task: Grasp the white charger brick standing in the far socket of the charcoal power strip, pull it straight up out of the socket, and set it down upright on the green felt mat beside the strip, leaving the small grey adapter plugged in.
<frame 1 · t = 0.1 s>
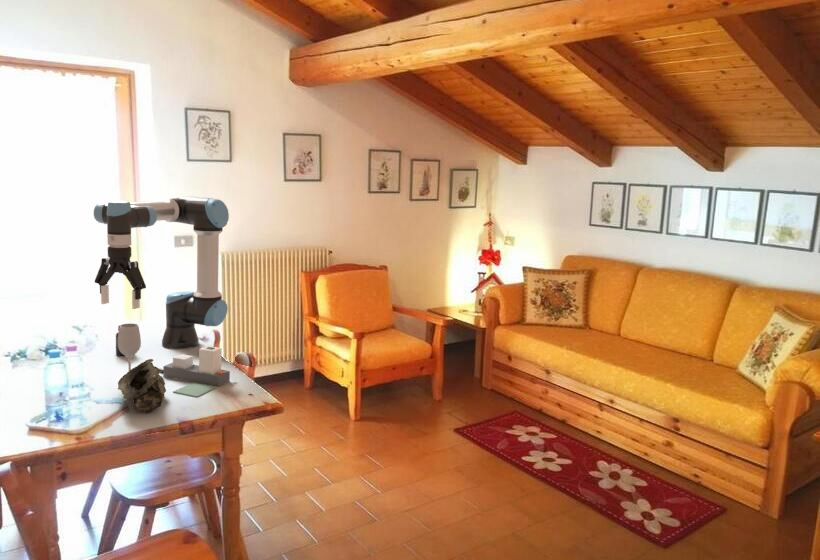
hand: (120, 305, 226), 28 cm above the table, fingers open, 13 cm apart
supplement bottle: (125, 355, 262), on the table
felt mat: (195, 390, 227), on the table
charger: (210, 374, 236), point 3 cm above the table, touching power strip
wineglass: (129, 382, 231), on the table
hollow geode rock: (142, 404, 212), on the table
adapter: (183, 369, 240), point 3 cm above the table, touching power strip
power strip: (196, 378, 238), on the table
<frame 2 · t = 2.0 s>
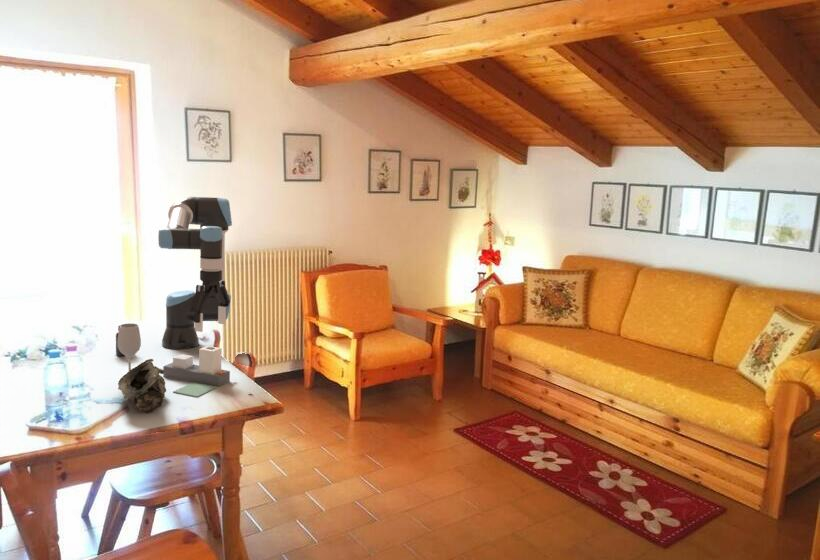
hand: (210, 327, 233), 21 cm above the table, fingers open, 13 cm apart
nothing on the table moved.
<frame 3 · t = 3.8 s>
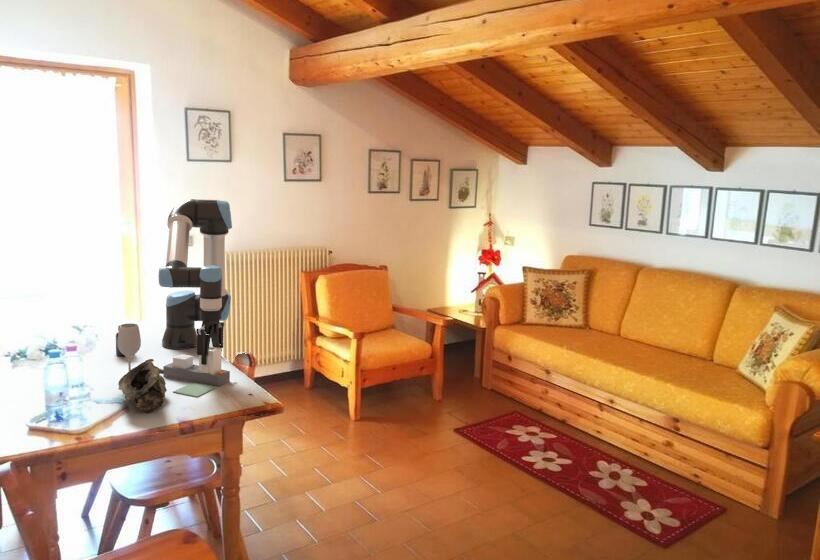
hand: (210, 370, 236), 4 cm above the table, fingers closed on charger, 5 cm apart
charger: (210, 374, 236), point 3 cm above the table, touching gripper
everything else where it was.
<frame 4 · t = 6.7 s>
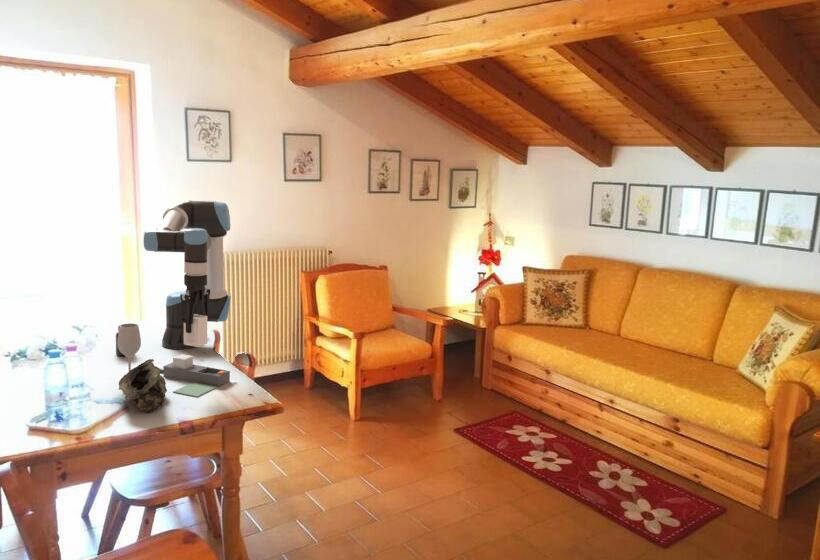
hand: (195, 339, 224), 19 cm above the table, fingers closed on charger, 5 cm apart
charger: (195, 344, 224), point 17 cm above the table, touching gripper
everything else where it was.
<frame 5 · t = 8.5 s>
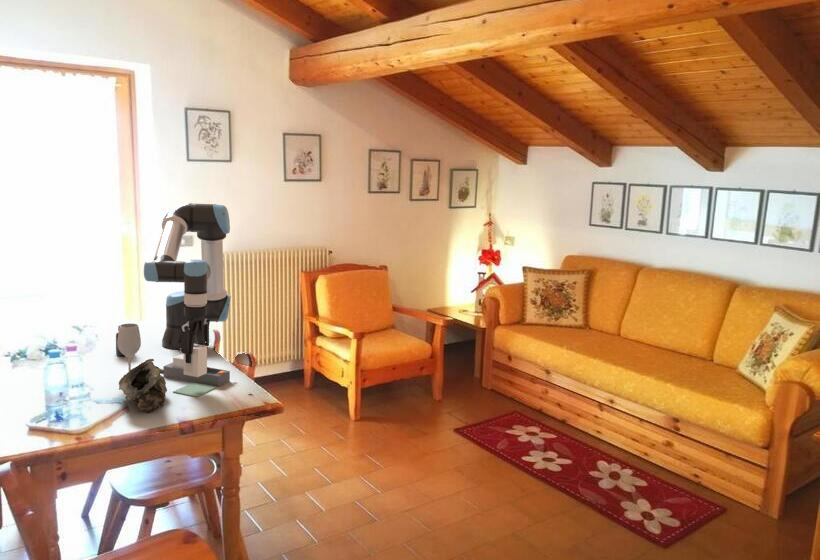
hand: (195, 369, 225), 8 cm above the table, fingers closed on charger, 5 cm apart
charger: (195, 373, 226), point 6 cm above the table, touching gripper
everything else where it was.
when the fingers open (3 cm above the table, at t = 9.7 s): charger drops 1 cm, resting on felt mat.
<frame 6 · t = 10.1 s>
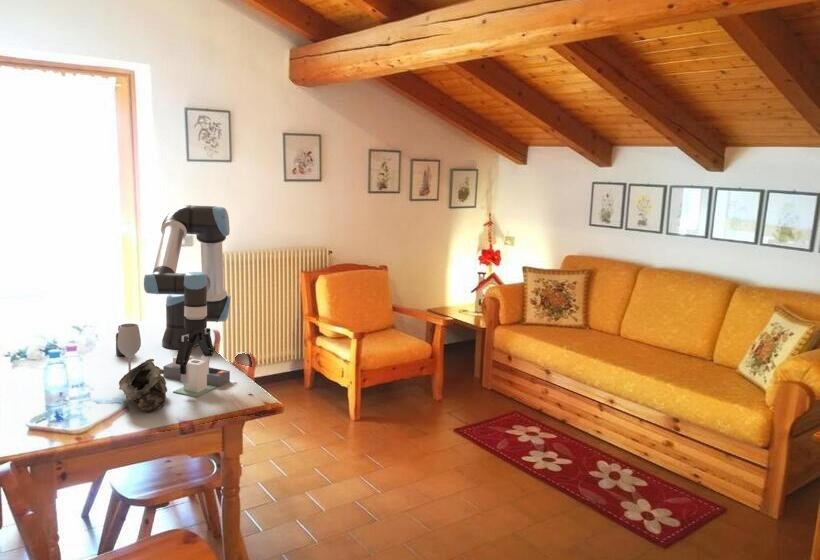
hand: (195, 378, 226), 4 cm above the table, fingers open, 10 cm apart
charger: (195, 389, 227), resting on felt mat
everything else where it was.
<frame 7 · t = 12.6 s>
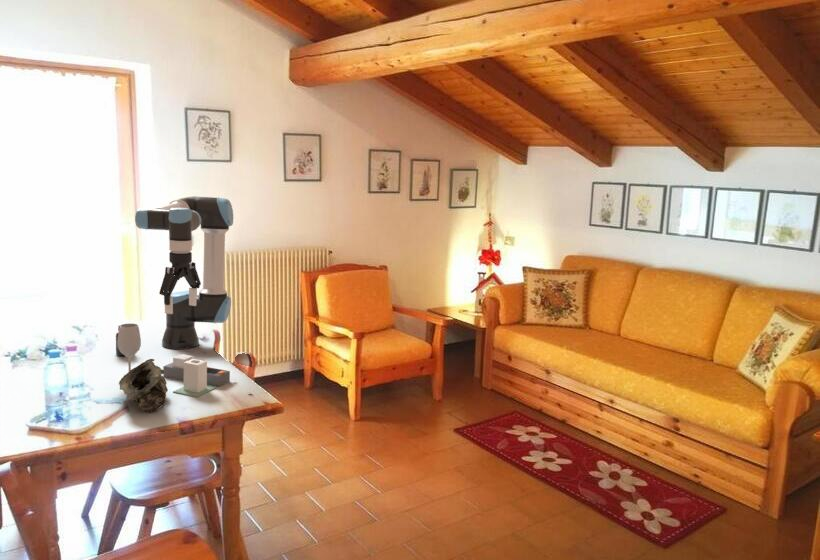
hand: (181, 309, 232), 27 cm above the table, fingers open, 13 cm apart
nothing on the table moved.
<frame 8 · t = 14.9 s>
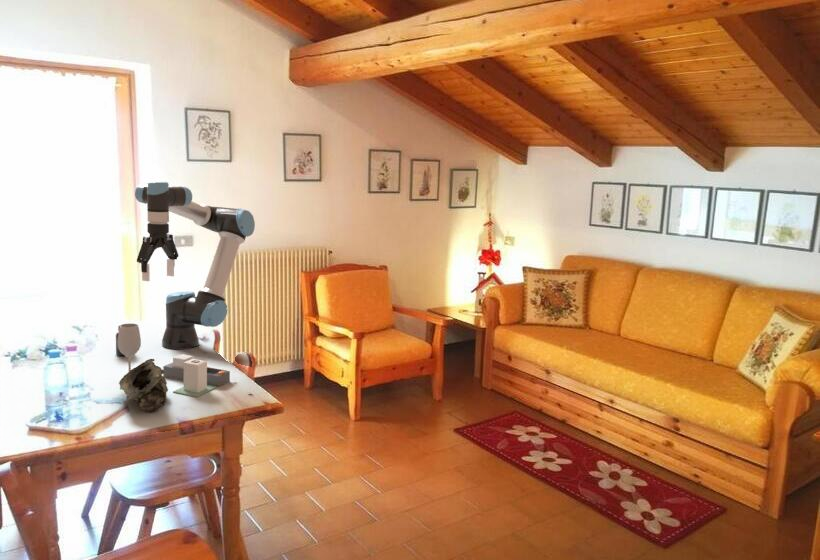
hand: (158, 278, 245), 35 cm above the table, fingers open, 13 cm apart
nothing on the table moved.
at the end: charger inside the target area on the felt mat (0.0 cm from its centre), point 0.4 cm above the felt mat's base; charger tilted 0°; charger touching felt mat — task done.
